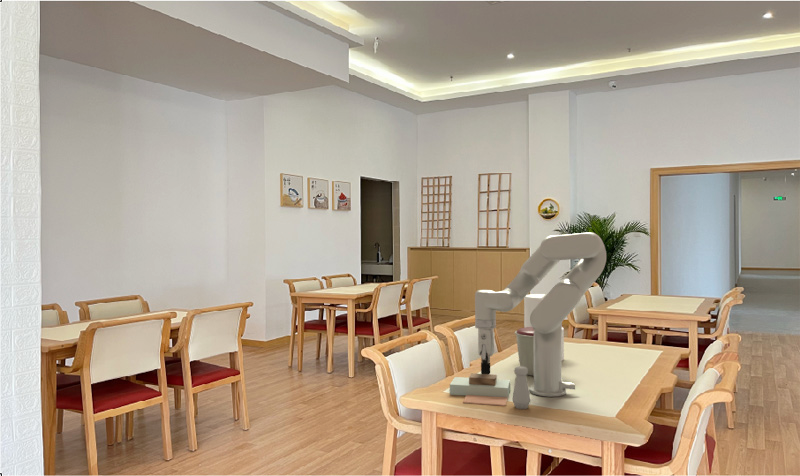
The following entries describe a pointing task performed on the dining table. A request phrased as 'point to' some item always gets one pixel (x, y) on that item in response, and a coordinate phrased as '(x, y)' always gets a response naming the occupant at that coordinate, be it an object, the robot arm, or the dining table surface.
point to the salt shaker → (521, 388)
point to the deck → (479, 388)
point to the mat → (485, 400)
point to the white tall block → (530, 305)
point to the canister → (526, 348)
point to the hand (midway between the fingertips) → (485, 373)
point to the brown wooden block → (483, 379)
